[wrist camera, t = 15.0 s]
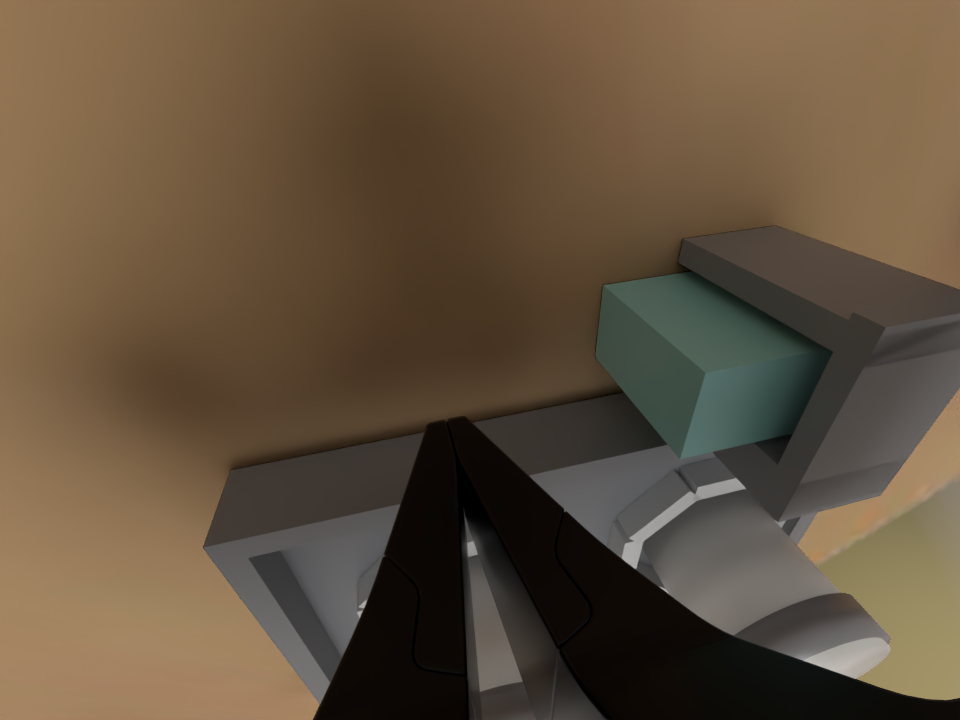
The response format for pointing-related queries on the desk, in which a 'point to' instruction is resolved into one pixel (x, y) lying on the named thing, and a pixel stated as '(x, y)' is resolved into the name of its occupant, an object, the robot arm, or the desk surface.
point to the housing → (617, 446)
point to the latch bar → (705, 362)
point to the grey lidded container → (762, 585)
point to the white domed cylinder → (495, 656)
